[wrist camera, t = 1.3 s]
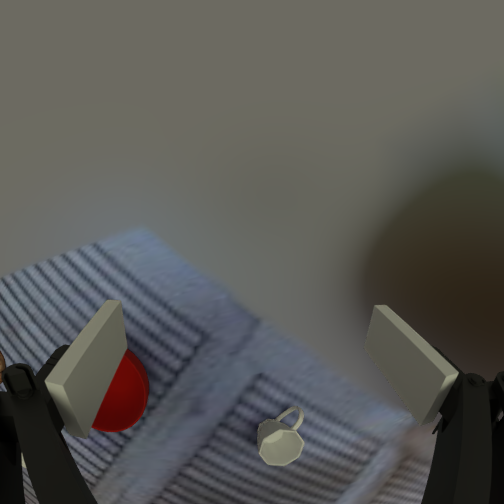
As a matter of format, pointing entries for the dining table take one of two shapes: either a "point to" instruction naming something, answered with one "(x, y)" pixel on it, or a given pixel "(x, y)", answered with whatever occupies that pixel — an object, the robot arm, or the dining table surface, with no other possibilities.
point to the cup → (280, 439)
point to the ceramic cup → (124, 396)
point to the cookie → (1, 365)
